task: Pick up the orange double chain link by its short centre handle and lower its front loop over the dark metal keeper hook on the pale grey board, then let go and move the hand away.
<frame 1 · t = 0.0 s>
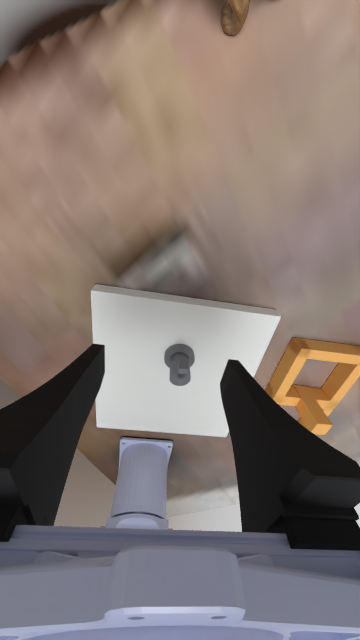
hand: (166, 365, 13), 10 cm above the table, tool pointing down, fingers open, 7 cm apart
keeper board: (174, 371, 27), on the table
orange link: (297, 390, 29), on the table
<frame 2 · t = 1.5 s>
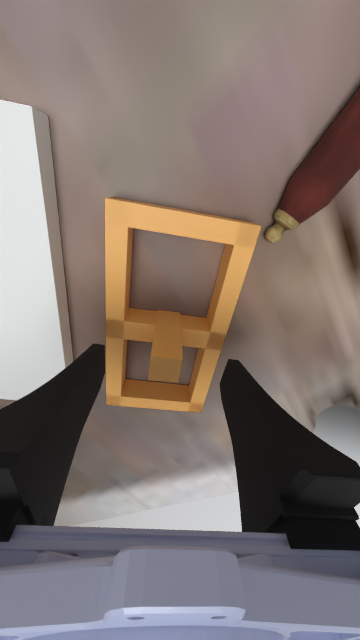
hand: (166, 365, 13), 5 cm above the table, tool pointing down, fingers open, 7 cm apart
orange link: (167, 321, 17), on the table
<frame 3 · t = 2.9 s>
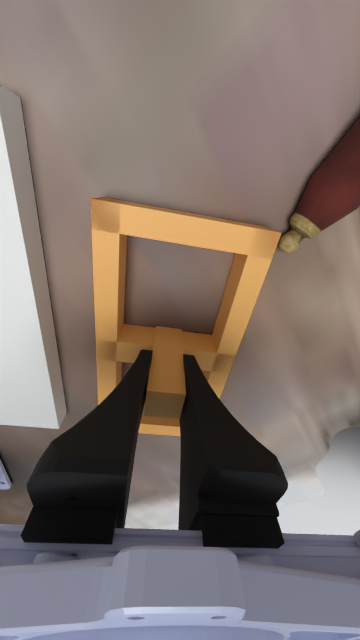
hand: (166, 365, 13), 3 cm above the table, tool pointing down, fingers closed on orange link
orange link: (167, 338, 15), on the table, touching gripper
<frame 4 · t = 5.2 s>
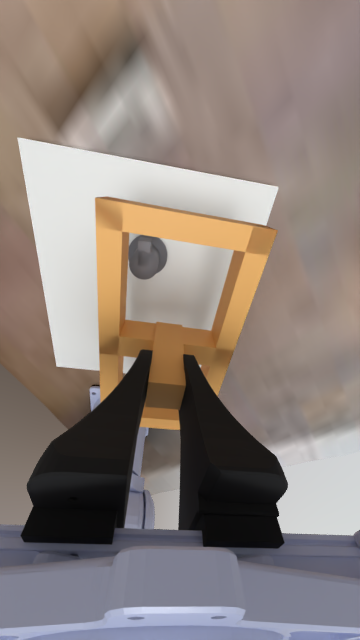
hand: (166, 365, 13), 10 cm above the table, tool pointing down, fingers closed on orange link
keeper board: (146, 288, 21), on the table
orange link: (167, 334, 16), point 7 cm above the table, touching gripper
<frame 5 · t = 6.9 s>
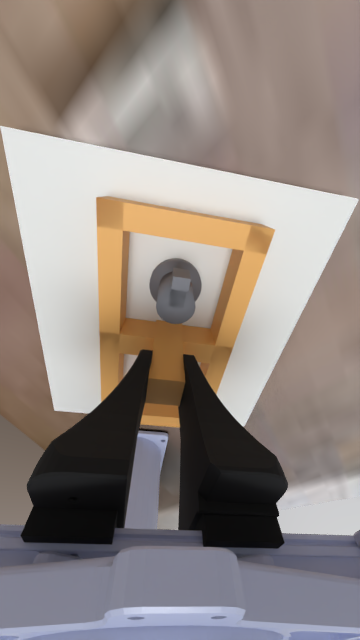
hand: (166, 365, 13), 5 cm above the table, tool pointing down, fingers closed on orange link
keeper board: (168, 321, 17), on the table
orange link: (167, 332, 16), point 2 cm above the table, touching gripper
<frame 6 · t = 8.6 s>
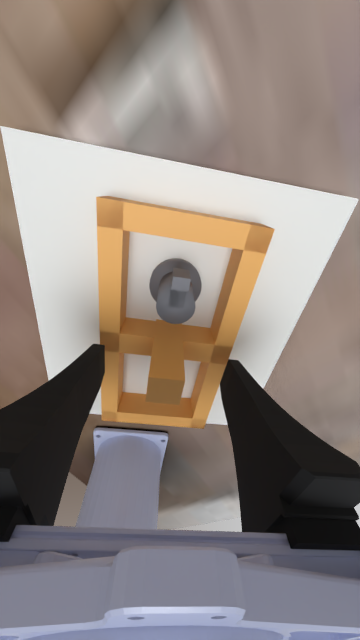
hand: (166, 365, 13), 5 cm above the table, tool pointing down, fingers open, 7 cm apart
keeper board: (168, 321, 17), on the table
orange link: (167, 331, 16), point 1 cm above the table, touching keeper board
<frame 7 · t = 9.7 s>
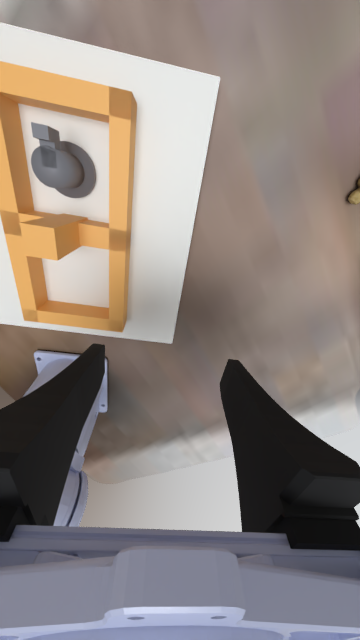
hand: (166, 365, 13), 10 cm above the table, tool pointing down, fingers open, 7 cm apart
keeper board: (83, 225, 19), on the table
orange link: (76, 228, 17), point 1 cm above the table, touching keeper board
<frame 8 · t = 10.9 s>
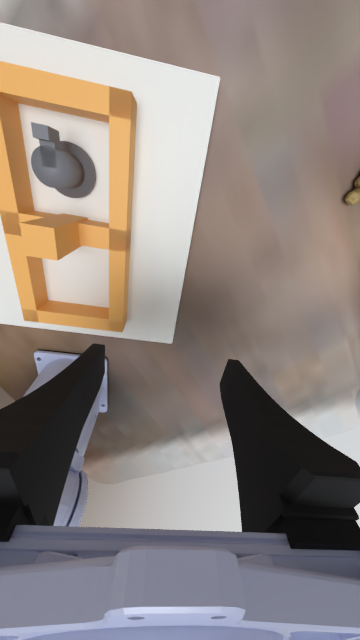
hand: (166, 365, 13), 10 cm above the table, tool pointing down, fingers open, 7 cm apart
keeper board: (83, 225, 19), on the table
orange link: (76, 228, 17), point 1 cm above the table, touching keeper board
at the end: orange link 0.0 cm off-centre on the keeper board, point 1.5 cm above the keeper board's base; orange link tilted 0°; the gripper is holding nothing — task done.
